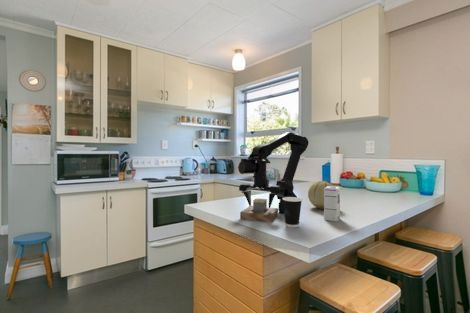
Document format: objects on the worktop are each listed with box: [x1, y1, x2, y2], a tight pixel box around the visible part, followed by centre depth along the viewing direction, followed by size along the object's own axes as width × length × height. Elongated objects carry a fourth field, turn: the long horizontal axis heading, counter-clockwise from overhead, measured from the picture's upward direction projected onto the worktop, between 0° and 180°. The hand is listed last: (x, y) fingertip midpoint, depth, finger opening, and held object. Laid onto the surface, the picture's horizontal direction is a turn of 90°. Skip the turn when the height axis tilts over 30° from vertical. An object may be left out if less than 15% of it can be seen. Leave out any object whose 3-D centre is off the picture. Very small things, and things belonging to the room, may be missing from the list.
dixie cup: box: [283, 197, 303, 228], centre depth 103 cm, size 8×8×11 cm
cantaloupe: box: [307, 179, 334, 210], centre depth 134 cm, size 15×15×15 cm
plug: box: [252, 197, 268, 213], centre depth 116 cm, size 5×5×8 cm
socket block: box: [239, 205, 279, 223], centre depth 116 cm, size 14×14×3 cm
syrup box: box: [323, 185, 341, 222], centre depth 113 cm, size 6×6×14 cm
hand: (259, 206), depth 116 cm, fingers open, 9 cm apart
